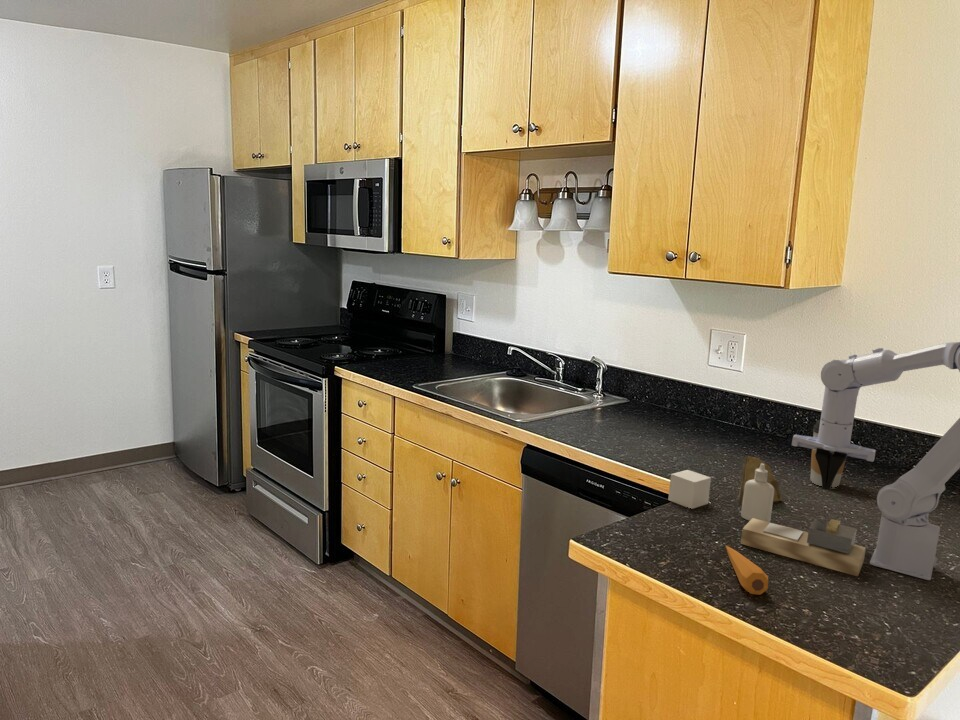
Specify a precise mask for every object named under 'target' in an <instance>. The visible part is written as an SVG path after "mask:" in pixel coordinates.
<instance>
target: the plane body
mask: <svg viewBox="0 0 960 720" xmlns="http://www.w3.org/2000/svg"><path fill="white" fill-rule="evenodd" d="M807 538H808V531H804V530H800V529H797V528H793V527H789V526H784V525H781V524H777V523H773V522H771V521H770V522H766V521H762V520H758V519H755V518H752V519H751V520H750V521H748V522H747V523H746V524H745V525H744V527H743V528H742V532H741V538H740V544H741V545H744V546H748V547H751V548H755V549H759V550H762V551H766V552H769V553H773V554H776V555H779V556H784V557H787V558H791V559H795V560H797V561H800V562H804V563H805V562H806V563H807V564H808V563H809V564H811V565H814V566H820V567H822V568H826V569H829V570H833V571H837V572H839V573H840V572H841V573H845V574H847V575H851V576H855V577H859V575H860V573H861V570H862V567H863V565H864V562H865V555H866V550H867V549H866V548H867V547H865V546H862V545H858V544H856V543H855V544H854V546H853V548H852V550H851V552H850V554H847V553H843V552H840V551H836V550H832V549H828V548H825V547H821V546H817V545H813V544H810V543H807Z"/></svg>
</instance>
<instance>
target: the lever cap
mask: <svg viewBox="0 0 960 720" xmlns="http://www.w3.org/2000/svg"><path fill="white" fill-rule="evenodd" d="M857 531H858V529H857V528H856V527H851V526H847V525H843V524H841V520H838V519H833V518H830V520H829V521H826V520H823V519H819V518H815V519H814V520H813V521H812V523H811V524H810V525H809V528H808V531H807V532H808V538H807V543H810V544H813V545H817V546H821V547H825V548H828V549H832V550H836V551H840V552H843V553H847V554H850V552H851V550H852V548H853V546H854V544H855V545H856V537H857Z"/></svg>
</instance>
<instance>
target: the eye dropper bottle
mask: <svg viewBox="0 0 960 720" xmlns="http://www.w3.org/2000/svg"><path fill="white" fill-rule="evenodd" d="M767 476H768V471H767V470H765V465H764V464H761V465H760V467H759V469H756V470H755V477H754V479H753V480H749V481H747V482H746V483H745V488H744V495H743V503H742V505H741V512H740V516H741V518H742V519H745V520H747V521H748V522H749V521H750V520H751V519H752V518H755V519H758V520H762V521H766V522H770V523H771V518H772V512H773V503H774V502H773V497H774V487H773V486H772V485H771V484H769V483H768V482H766V481H767Z"/></svg>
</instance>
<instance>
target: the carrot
mask: <svg viewBox="0 0 960 720" xmlns="http://www.w3.org/2000/svg"><path fill="white" fill-rule="evenodd" d="M725 548H726V552H727V555H728V558H729V561H730V564H731V565H732V568H733V570H734V572H735V574H736V576H737V577H736V578H737V579H738V581H739V583H740V585H741V587H742V588H743V589H744V590H745V591H746V592H747V593H748V592H749V593H748V594H749V595H757V596H758V595H759V596H760V595H762V594H763V593H765V592H766V591H768V589H769V576H768V575H767V574H766V573H765V571H764V570H763V569H762V567H759V566H758V565H757V564H755V563H754V562H752V561H751V560H750V559H748V558H747V557H745V556H744V555H743V554H741V553H740V552H738V551H737V550H735V549H733V548H732V547H730V546H728V545H725Z"/></svg>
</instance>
